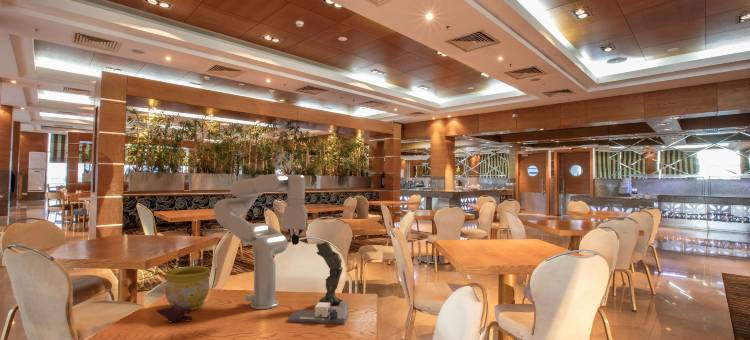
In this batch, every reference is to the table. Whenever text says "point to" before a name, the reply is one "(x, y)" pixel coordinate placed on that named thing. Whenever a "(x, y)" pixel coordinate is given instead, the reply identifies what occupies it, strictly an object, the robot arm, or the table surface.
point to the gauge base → (332, 318)
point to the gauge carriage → (323, 309)
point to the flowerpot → (187, 286)
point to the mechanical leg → (331, 272)
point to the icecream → (175, 313)
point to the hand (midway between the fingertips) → (295, 244)
